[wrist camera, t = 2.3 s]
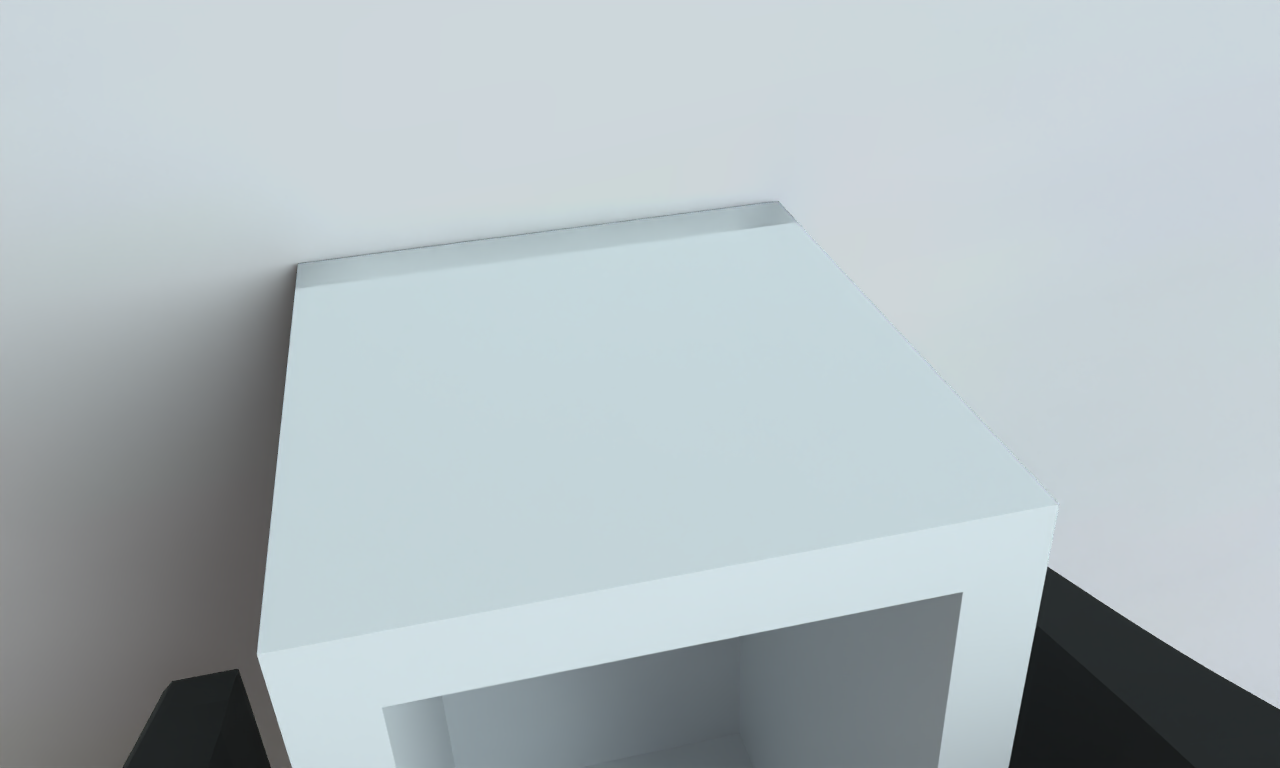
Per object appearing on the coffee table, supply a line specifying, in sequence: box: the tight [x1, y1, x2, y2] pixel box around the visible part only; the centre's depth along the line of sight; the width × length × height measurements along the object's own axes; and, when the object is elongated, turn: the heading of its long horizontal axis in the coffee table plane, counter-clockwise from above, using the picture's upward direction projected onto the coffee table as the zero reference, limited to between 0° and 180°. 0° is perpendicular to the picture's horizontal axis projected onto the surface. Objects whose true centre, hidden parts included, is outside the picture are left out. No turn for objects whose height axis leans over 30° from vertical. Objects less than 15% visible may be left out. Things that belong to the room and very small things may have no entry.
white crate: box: [257, 201, 1059, 768], centre depth 11 cm, size 5×8×6 cm, turn 3°
